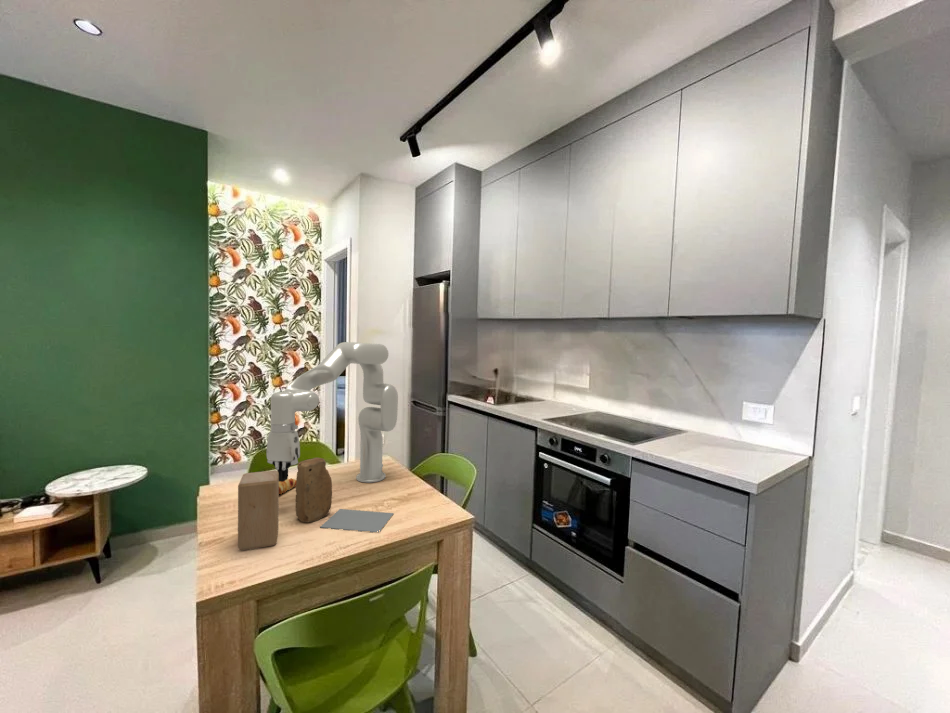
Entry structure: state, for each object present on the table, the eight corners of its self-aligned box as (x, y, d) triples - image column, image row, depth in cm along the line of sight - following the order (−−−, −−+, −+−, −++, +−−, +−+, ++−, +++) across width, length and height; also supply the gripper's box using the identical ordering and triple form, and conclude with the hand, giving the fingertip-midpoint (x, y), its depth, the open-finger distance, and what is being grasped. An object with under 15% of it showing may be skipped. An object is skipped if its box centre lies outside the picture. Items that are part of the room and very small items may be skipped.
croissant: (293, 492, 166) (289, 473, 168) (307, 485, 161) (302, 466, 163) (242, 508, 148) (237, 487, 150) (255, 501, 143) (250, 480, 145)
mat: (339, 509, 142) (339, 508, 142) (393, 514, 140) (393, 513, 140) (320, 527, 128) (320, 526, 128) (379, 533, 126) (379, 532, 126)
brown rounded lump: (303, 525, 129) (304, 465, 128) (293, 518, 134) (293, 460, 133) (334, 515, 137) (334, 458, 137) (323, 508, 142) (323, 454, 141)
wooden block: (237, 552, 112) (237, 483, 111) (242, 536, 121) (242, 472, 121) (276, 546, 116) (277, 479, 115) (278, 530, 125) (279, 469, 125)
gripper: (309, 426, 139) (308, 478, 139) (270, 424, 141) (269, 475, 141) (296, 431, 131) (296, 485, 132) (255, 429, 133) (255, 482, 134)
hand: (282, 480), depth 137 cm, fingers closed
